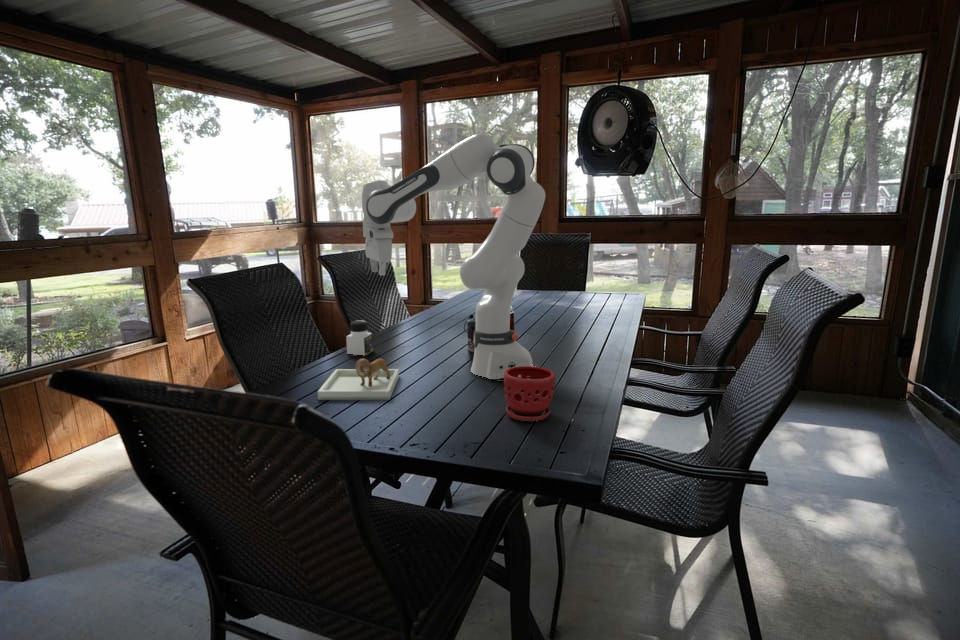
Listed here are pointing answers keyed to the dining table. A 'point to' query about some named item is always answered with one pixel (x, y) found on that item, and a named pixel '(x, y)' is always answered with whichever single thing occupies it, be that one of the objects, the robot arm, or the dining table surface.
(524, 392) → the plant pot
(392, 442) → the dining table surface
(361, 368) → the lion figurine
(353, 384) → the tray
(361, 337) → the medicine bottle
